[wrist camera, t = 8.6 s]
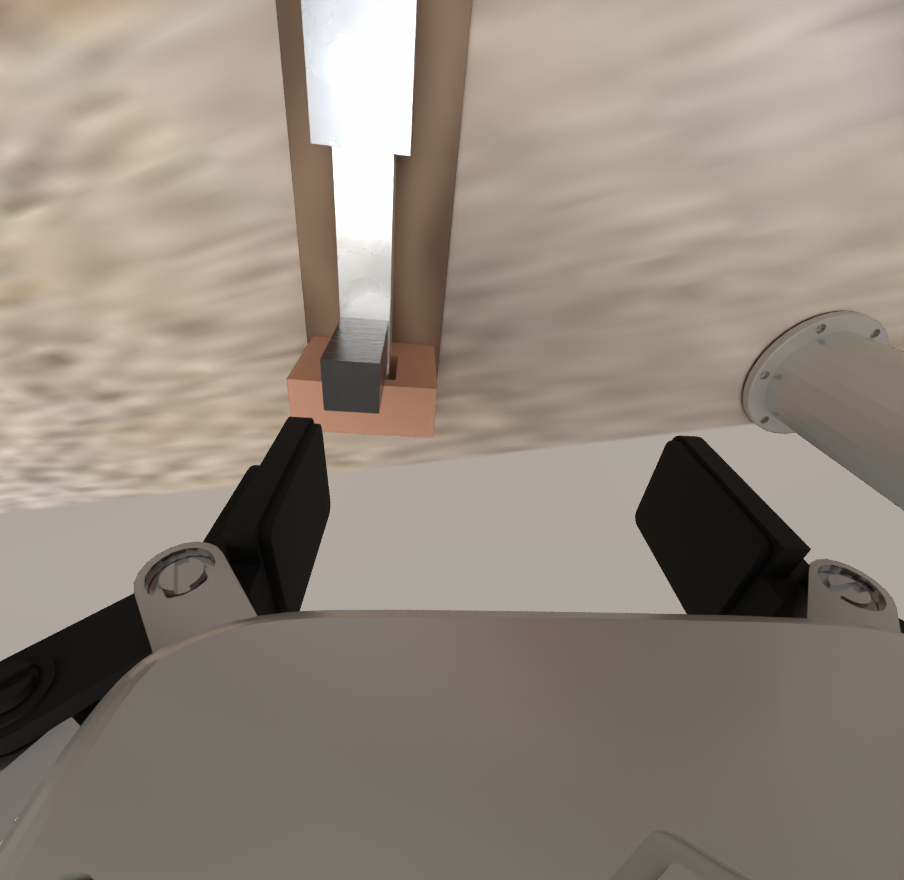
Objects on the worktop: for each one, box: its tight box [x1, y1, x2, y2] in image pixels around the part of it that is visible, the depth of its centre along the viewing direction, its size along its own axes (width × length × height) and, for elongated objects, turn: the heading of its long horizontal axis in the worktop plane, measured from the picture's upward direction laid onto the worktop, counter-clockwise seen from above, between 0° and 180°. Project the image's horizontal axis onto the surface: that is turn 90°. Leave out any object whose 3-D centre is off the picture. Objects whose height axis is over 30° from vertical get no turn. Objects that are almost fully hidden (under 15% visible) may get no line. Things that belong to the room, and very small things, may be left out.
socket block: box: [287, 336, 437, 437], centre depth 32 cm, size 10×4×8 cm, turn 84°
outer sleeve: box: [301, 0, 419, 157], centre depth 21 cm, size 5×12×8 cm, turn 174°
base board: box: [276, 0, 472, 379], centre depth 29 cm, size 11×30×2 cm, turn 174°
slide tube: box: [320, 146, 397, 414], centre depth 24 cm, size 3×19×10 cm, turn 174°
